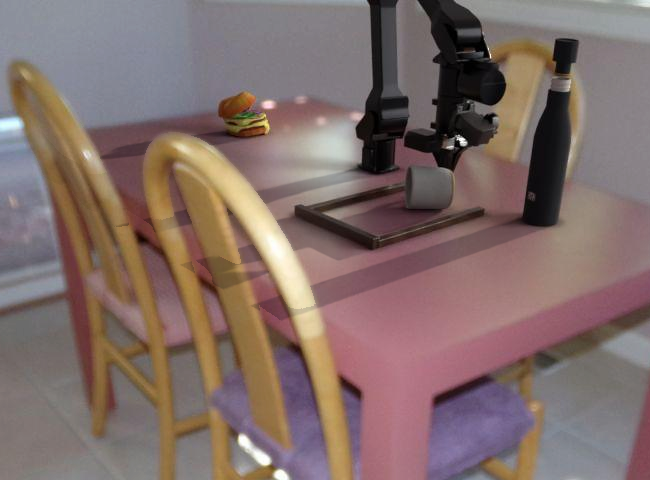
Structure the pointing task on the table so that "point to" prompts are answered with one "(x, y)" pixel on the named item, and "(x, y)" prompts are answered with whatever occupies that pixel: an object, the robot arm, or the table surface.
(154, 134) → the table surface
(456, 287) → the table surface
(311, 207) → the brown wooden flat frame
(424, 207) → the ceramic mug
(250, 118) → the cheeseburger
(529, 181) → the black bottle
